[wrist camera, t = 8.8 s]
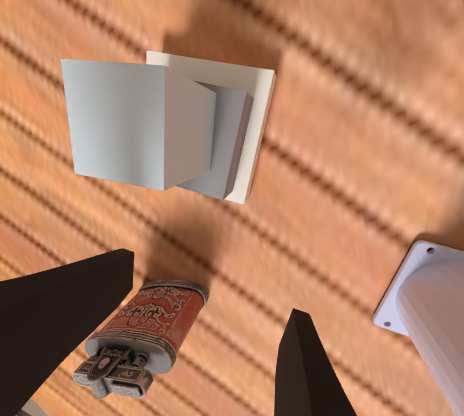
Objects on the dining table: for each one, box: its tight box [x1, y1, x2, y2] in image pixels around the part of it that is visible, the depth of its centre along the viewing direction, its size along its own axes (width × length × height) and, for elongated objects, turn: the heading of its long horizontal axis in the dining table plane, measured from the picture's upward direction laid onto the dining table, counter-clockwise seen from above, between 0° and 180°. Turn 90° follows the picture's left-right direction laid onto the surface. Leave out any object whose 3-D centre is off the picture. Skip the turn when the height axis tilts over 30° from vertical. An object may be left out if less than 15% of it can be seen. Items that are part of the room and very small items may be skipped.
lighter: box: [72, 280, 208, 399], centre depth 19 cm, size 8×3×10 cm, turn 101°
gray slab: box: [176, 81, 254, 200], centre depth 15 cm, size 6×6×2 cm
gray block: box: [61, 59, 217, 191], centre depth 11 cm, size 4×4×6 cm
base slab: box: [146, 51, 276, 204], centre depth 17 cm, size 9×9×2 cm
